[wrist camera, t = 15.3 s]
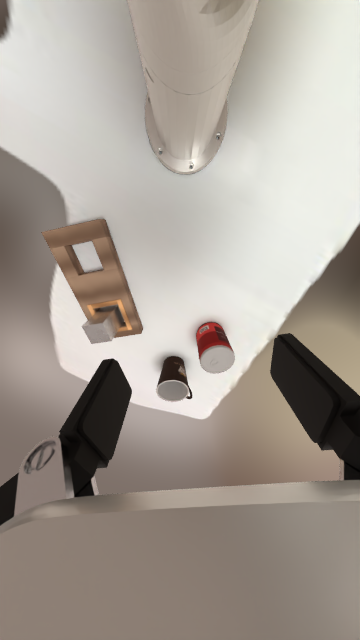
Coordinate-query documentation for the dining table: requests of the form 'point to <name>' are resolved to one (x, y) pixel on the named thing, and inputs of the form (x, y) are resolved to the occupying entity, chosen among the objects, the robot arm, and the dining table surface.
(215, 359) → the canned food
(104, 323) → the metal block
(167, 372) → the coffee mug
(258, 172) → the dining table surface
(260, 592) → the robot arm
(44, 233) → the socket board
